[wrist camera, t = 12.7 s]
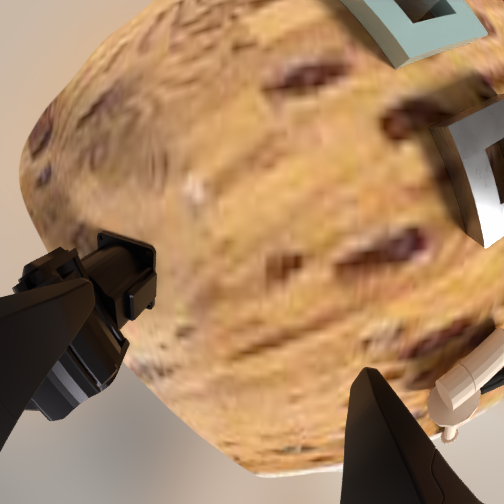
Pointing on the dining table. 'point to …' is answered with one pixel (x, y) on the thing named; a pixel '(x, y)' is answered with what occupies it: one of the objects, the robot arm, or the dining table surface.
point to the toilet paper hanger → (465, 385)
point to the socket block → (475, 166)
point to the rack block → (416, 28)
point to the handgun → (493, 382)
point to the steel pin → (415, 8)
